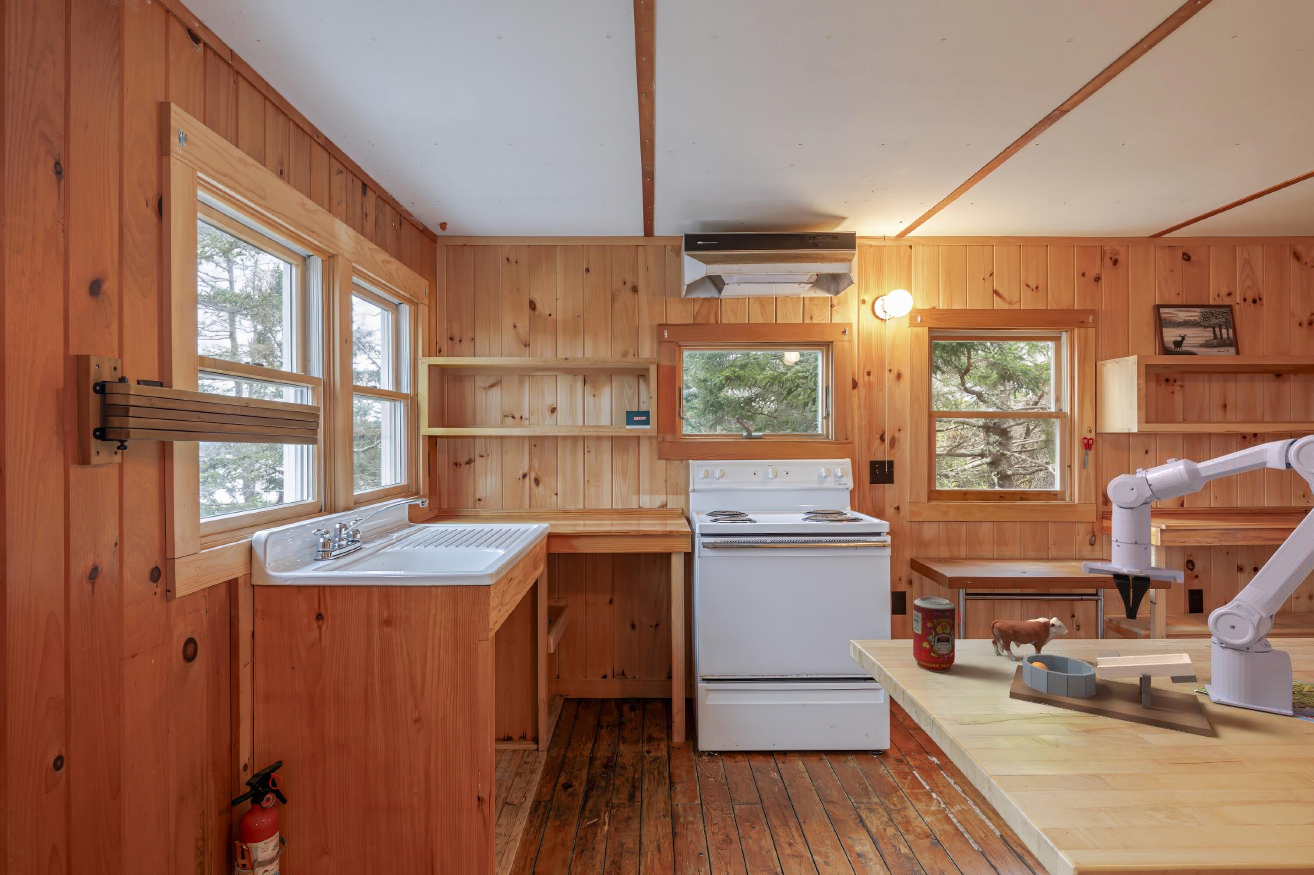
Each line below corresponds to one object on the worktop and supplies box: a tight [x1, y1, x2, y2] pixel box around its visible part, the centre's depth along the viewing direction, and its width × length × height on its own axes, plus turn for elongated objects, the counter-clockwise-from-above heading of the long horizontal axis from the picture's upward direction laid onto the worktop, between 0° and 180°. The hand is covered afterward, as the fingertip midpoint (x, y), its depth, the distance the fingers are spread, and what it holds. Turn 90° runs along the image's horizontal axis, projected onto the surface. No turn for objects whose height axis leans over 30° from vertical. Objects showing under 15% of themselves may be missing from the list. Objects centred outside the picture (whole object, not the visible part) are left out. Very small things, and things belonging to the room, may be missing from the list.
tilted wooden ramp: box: [1096, 650, 1198, 684], centre depth 105 cm, size 12×13×3 cm
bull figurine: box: [990, 617, 1070, 661], centre depth 124 cm, size 4×13×8 cm, turn 79°
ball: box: [1032, 662, 1049, 671], centre depth 110 cm, size 3×3×3 cm
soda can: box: [912, 595, 956, 673], centre depth 120 cm, size 7×7×12 cm
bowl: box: [1022, 653, 1097, 698], centre depth 108 cm, size 10×10×4 cm
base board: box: [1009, 664, 1212, 738], centre depth 105 cm, size 25×15×6 cm, turn 57°
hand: (1131, 618), depth 116 cm, fingers closed
